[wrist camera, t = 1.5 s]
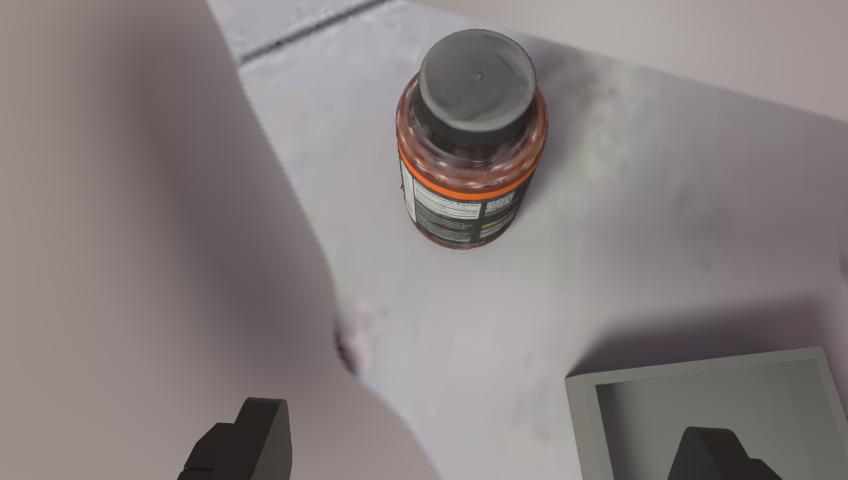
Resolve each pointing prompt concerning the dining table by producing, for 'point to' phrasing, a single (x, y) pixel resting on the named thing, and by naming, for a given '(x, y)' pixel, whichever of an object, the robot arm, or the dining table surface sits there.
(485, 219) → the supplement bottle
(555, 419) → the dining table surface
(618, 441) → the tray
